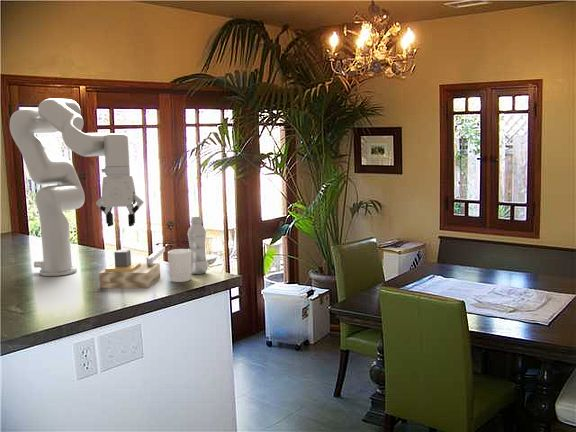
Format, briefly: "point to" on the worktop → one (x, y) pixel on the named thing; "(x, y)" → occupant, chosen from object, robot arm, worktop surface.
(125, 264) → the plug
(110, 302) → the worktop surface
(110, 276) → the socket block
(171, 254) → the white cup
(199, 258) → the plastic bottle
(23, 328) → the worktop surface
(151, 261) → the silver rod
